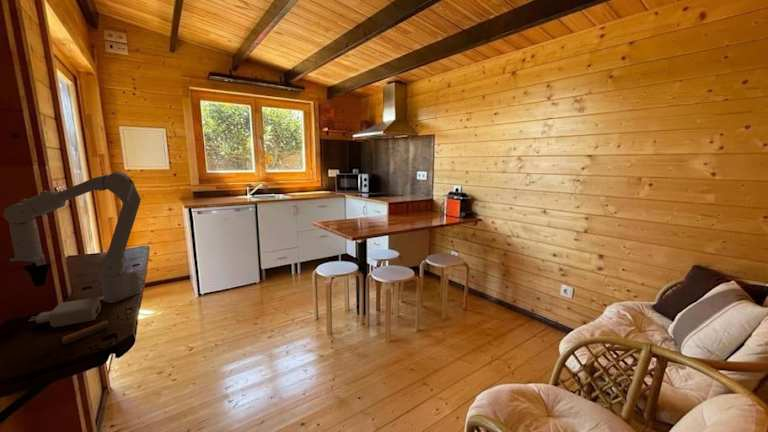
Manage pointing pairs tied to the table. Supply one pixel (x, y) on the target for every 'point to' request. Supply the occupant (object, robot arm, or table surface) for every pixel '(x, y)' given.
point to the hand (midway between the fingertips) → (34, 283)
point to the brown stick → (85, 332)
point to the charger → (71, 313)
